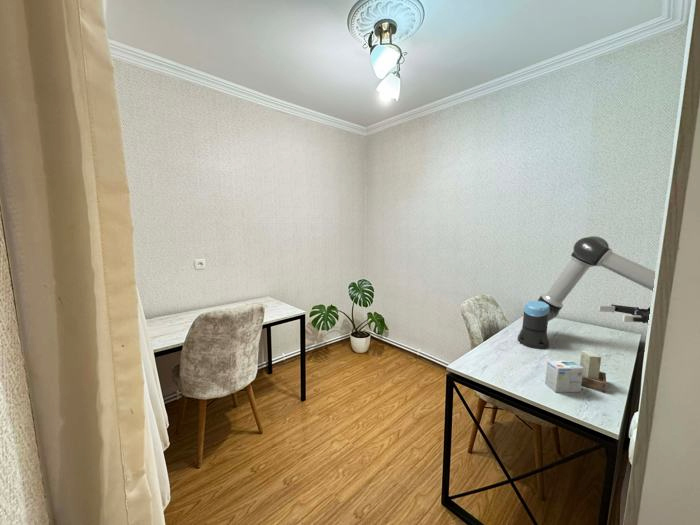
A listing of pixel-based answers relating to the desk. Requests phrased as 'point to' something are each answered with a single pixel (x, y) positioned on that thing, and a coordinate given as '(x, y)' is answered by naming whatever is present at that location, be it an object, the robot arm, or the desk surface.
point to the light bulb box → (564, 376)
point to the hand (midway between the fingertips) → (610, 313)
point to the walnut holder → (595, 382)
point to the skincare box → (590, 364)
